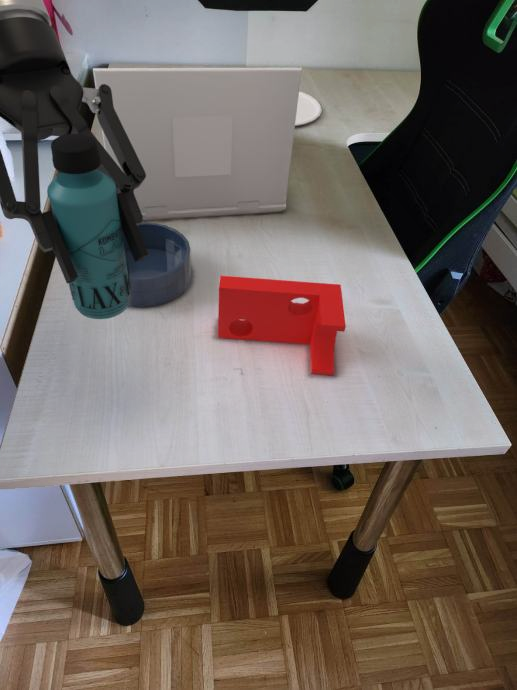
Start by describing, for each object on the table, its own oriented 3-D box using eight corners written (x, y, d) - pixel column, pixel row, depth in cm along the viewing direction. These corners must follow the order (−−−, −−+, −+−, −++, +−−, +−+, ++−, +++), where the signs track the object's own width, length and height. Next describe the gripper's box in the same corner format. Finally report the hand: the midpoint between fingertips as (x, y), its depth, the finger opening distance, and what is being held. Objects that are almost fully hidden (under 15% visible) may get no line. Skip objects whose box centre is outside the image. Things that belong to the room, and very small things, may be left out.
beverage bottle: (65, 324, 57) (17, 151, 43) (92, 287, 62) (56, 120, 48) (121, 336, 57) (90, 164, 42) (143, 298, 61) (122, 131, 47)
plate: (245, 81, 161) (245, 77, 160) (334, 102, 154) (335, 98, 153) (201, 114, 142) (201, 109, 141) (301, 139, 135) (301, 134, 134)
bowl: (99, 312, 84) (93, 284, 80) (95, 254, 95) (90, 226, 91) (198, 301, 88) (197, 273, 83) (183, 246, 98) (182, 219, 94)
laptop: (257, 156, 127) (267, 24, 106) (285, 214, 109) (303, 69, 89) (111, 161, 120) (91, 22, 99) (115, 225, 102) (92, 70, 82)
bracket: (340, 280, 78) (345, 326, 71) (328, 329, 85) (333, 375, 78) (221, 271, 77) (214, 316, 70) (220, 321, 85) (214, 367, 78)
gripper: (105, 47, 56) (183, 249, 59) (-96, 72, 48) (6, 306, 50) (119, 3, 49) (206, 233, 52) (-111, 22, 41) (7, 295, 44)
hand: (107, 268), depth 51 cm, fingers closed on beverage bottle, 6 cm apart
